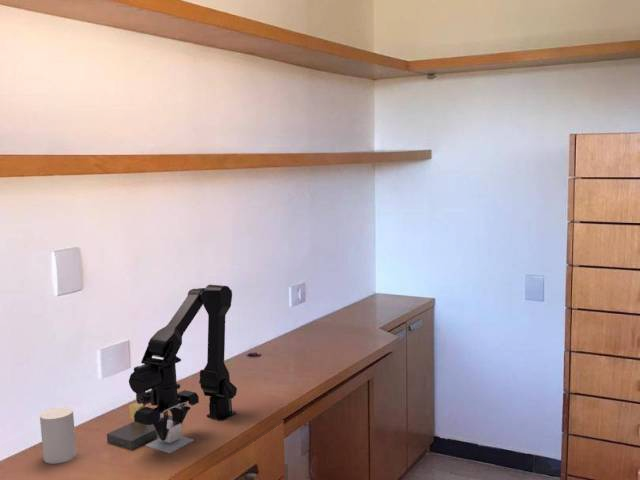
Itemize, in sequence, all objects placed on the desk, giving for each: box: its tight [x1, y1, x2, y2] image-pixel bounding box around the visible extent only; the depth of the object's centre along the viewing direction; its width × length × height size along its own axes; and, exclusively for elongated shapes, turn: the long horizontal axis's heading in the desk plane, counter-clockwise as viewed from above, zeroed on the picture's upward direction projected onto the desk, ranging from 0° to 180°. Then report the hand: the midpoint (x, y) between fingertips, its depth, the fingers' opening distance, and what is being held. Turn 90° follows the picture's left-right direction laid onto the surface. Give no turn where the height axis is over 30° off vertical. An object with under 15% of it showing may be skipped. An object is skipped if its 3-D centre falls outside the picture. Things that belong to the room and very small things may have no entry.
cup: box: [39, 406, 78, 465], centre depth 174 cm, size 8×8×12 cm
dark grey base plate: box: [106, 410, 173, 451], centre depth 186 cm, size 18×10×6 cm, turn 146°
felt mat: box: [145, 435, 194, 454], centre depth 180 cm, size 9×9×1 cm
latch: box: [128, 402, 146, 420], centre depth 191 cm, size 2×4×4 cm, turn 56°
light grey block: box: [156, 420, 183, 443], centre depth 179 cm, size 4×5×4 cm
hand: (169, 437), depth 180 cm, fingers closed on light grey block, 4 cm apart
